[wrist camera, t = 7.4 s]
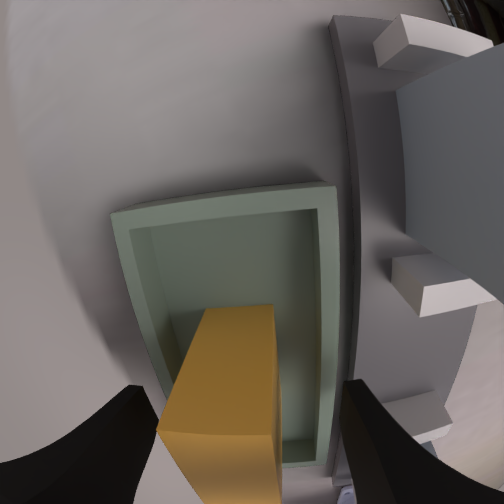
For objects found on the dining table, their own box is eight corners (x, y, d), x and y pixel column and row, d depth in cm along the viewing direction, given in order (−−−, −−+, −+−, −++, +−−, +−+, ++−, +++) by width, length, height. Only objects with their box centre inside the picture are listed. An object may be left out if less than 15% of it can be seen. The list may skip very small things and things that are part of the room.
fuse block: (406, 460, 15) (417, 494, 12) (331, 476, 16) (335, 514, 12) (457, 45, 7) (503, 23, 4) (328, 26, 8) (349, -22, 4)
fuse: (460, 229, 9) (575, 294, 3) (405, 234, 9) (521, 318, 3) (454, 98, 7) (577, 76, 2) (395, 90, 8) (518, 37, 2)
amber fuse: (281, 395, 12) (281, 508, 7) (226, 397, 13) (205, 505, 7) (273, 303, 11) (271, 434, 5) (205, 308, 11) (155, 429, 5)
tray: (322, 437, 14) (326, 464, 12) (205, 441, 15) (199, 466, 13) (324, 180, 10) (336, 185, 8) (135, 204, 10) (110, 213, 8)
